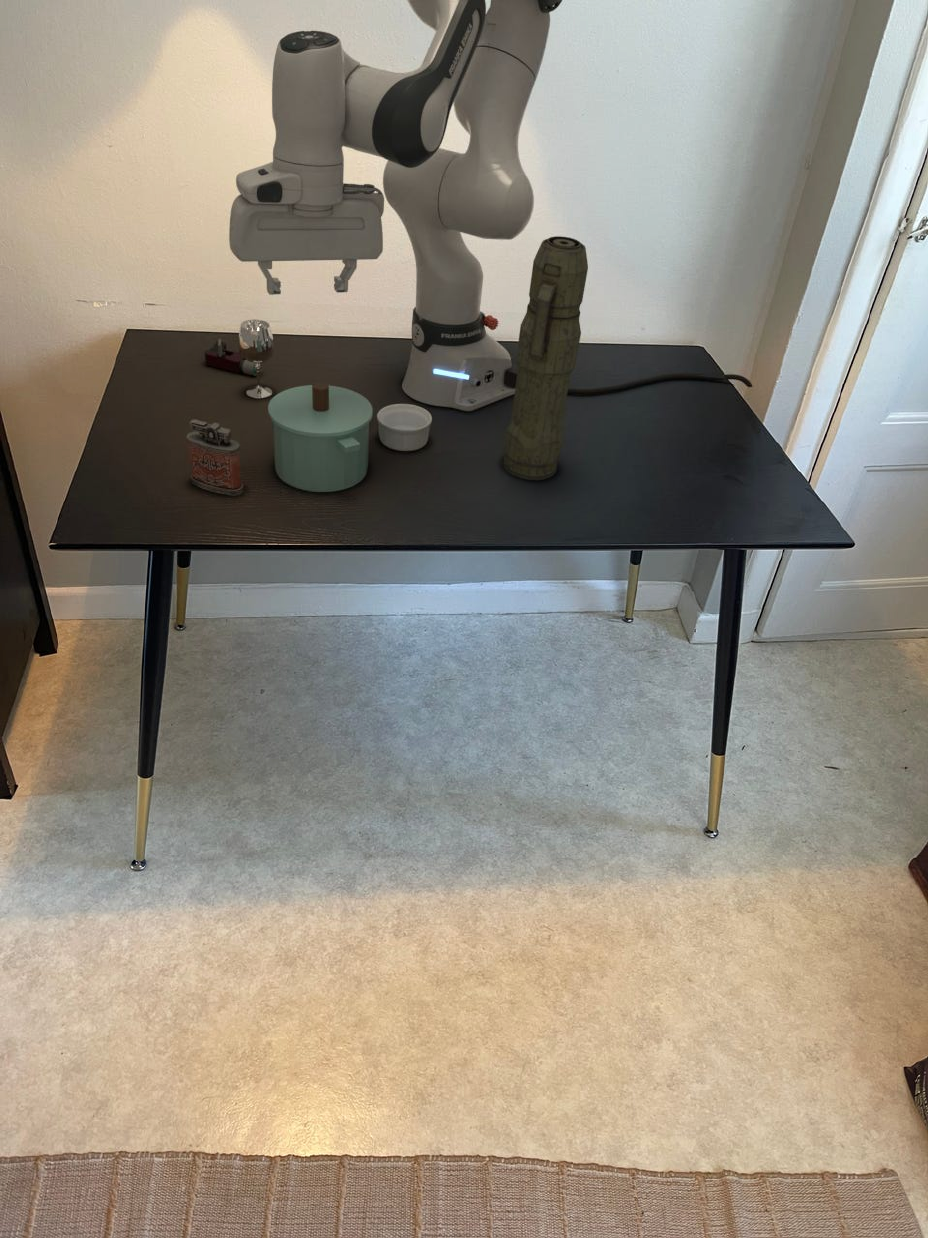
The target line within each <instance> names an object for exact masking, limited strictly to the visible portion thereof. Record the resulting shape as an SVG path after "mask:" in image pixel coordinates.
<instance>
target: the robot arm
mask: <svg viewBox="0 0 928 1238" xmlns="http://www.w3.org/2000/svg"><path fill="white" fill-rule="evenodd" d="M406 1H407V3H408V5H409V7H410V9H411V10H412V12H413V13H414V14H415V16H416V17H417V18H418V19H419V20H420V21H421V22H422V23H423V24H424V25H426V26H427V27H428V28H430V29H432V30H433V31H435V33H434V36H433V38H432V40H431V42H430V43H429V44H430V45H429V47H428V48H427V51H426V54H425V56H424V58H423V60H422V63H421V65H420V66H419V67H418V68H417V69H415V70H412V71H407V72H396V71H395V72H394V71H390V70H386V69H381V68H376V67H372V66H369V65H367V64H361V62H359V61H357V59H356V60H355V59H354V58H353V57H351V56H350V55H349V54H348V53H347V52H346V50H344V48H343V46H342V41H341V40H340V38H339V37H338V36H337V35H335V34H333V33H330V32H327V31H321V30H298V31H295V32H290V33H287V34H286V35H285V36H283V37H282V38H281V39H280V40H279V41H278V43H277V47H276V50H275V54H274V59H273V60H274V61H273V69H272V79H271V80H272V81H271V82H272V83H271V114H272V115H271V116H272V121H273V124H274V128H275V129H274V130H275V140H274V144H273V149H272V161H271V162H267V163H266V164H263V165H260V166H257V167H254V168H250V169H247V170H244V171H241V172H239V173H238V174H237V175H236V177H235V184H236V189H237V191H238V192H239V195H237V196H236V197H235V198H234V200H233V202H232V204H231V208H230V216H229V226H228V227H229V235H228V236H229V237H228V241H229V243H228V244H229V248H230V251H231V253H232V254H233V255H234V256H235V258H236V259H237V260H238V261H239V262H249V263H250V262H257V267H259V269H260V271H261V272H262V274H263V276H264V278H265V279H266V291H267V293H268V295H269V296H270V295H271V296H274V295H281V294H282V291H281V287H282V285H281V284H282V282H281V280H280V279H279V278H278V277H273V276H272V274H271V272H270V271H269V270H272V269H273V262H291V261H292V262H294V261H295V262H302V261H304V262H305V261H308V262H309V261H341V262H342V264H343V265H344V266H343V269H342V271H341V272H340V274H339V275H334V276H333V282H334V284H333V288H334V291H335V292H336V293H348V291H349V281H350V280H351V278H352V276H353V275H354V273H355V271H356V270H357V267H358V261H359V260H360V261H362V260H363V261H364V260H377V259H379V258H380V256H381V255H382V254H383V250H384V236H383V235H384V232H383V223H382V217H383V216H384V215H383V214H384V213H385V212H384V211H385V199H386V202H387V204H388V205H389V206H390V207H391V208H392V210H393V211H394V212H395V213H396V214H397V216H398V217H399V220H401V222H402V224H403V226H404V228H405V231H406V233H407V235H408V239H409V241H410V243H411V247H412V251H413V256H414V260H415V261H414V262H415V276H416V277H415V278H416V279H415V280H416V281H415V284H416V285H415V287H416V288H415V306H414V308H413V309H412V320H411V349H410V356H409V360H408V365H407V368H406V372H405V375H404V378H403V379H402V383H401V388H402V390H403V392H404V393H405V394H406V395H407V396H408V397H410V398H411V399H413V400H415V401H417V402H420V403H422V404H426V405H430V406H435V407H441V408H442V407H443V408H453V409H455V410H456V409H457V410H460V411H464V412H472V411H475V410H477V409H480V408H482V407H485V406H488V405H490V404H492V403H495V402H497V401H500V400H503V399H506V398H508V397H510V396H513V395H515V388H516V381H517V373H518V363H517V362H513V363H512V357H511V355H510V353H509V351H508V350H507V349H506V348H505V347H504V346H502V344H500V343H499V342H498V341H497V340H496V339H495V338H494V337H492V336H491V335H490V334H489V333H488V332H487V330H486V328H488V329H489V330H491V331H494V330H496V329H497V327H498V326H499V320H498V318H495V317H493V315H490V314H488V315H486V314H485V313H484V312H483V311H481V302H482V294H483V284H484V271H483V267H482V265H481V262H480V261H479V259H478V258H477V257H476V256H475V254H473V253H472V252H471V250H470V249H469V248H468V246H467V245H466V243H465V241H464V238H463V236H462V234H465V235H469V236H473V237H477V238H480V239H482V240H483V239H484V240H501V241H502V240H503V241H504V240H508V241H510V240H513V239H515V238H516V237H518V236H519V235H520V234H521V233H522V232H523V231H524V230H525V229H526V227H527V226H528V224H529V222H530V220H531V219H532V215H533V212H534V206H535V195H534V189H533V186H532V183H531V181H530V179H529V177H528V176H527V174H526V172H525V171H524V168H523V166H522V163H521V160H520V153H519V138H520V137H519V135H520V132H521V126H522V122H523V119H524V116H525V113H526V110H527V107H528V103H529V101H530V98H531V95H532V92H533V90H534V87H535V84H536V81H537V78H538V76H539V72H540V70H541V66H542V64H543V63H542V62H543V60H544V55H545V51H546V48H547V42H548V38H549V32H550V26H551V13H552V12H554V11H555V10H557V8H558V7H560V5H561V3H562V2H563V0H490V2H489V3H490V5H489V7H488V9H487V3H486V0H406ZM452 107H453V112H454V115H455V118H456V119H457V122H458V123H459V125H460V126H461V127H462V128H463V129H464V130H465V131H466V133H467V134H468V135H469V141H468V146H467V149H466V150H465V152H464V153H461V152H458V151H453V150H450V149H444V148H441V147H440V146H441V145H442V144H443V140H444V137H445V134H446V131H447V127H448V122H449V117H450V113H451V110H452ZM343 147H345V148H348V149H352V150H354V151H357V152H361V153H363V154H367V155H371V156H376V157H379V158H382V159H384V160H387V161H386V163H385V166H384V169H383V173H382V188H383V192H382V191H381V189H379V188H378V187H376V186H375V184H373V183H372V184H371V183H364V184H358V183H347V182H346V183H345V182H344V174H345V171H344V170H345V156H344V150H343ZM383 193H384V194H383ZM698 375H699V376H698ZM700 375H705V373H704V374H701V373H668V374H661V375H655V376H651V377H645V378H640V379H637V380H632V381H629V382H624V383H621V384H616V385H610V386H603V387H596V388H572V387H571V388H570V387H568V392H567V395H568V394H569V395H597V394H605V393H610V392H611V393H612V392H616V391H617V392H618V391H623V390H626V389H630V388H633V387H637V386H641V385H646V384H647V385H648V384H651V383H656V382H662V381H666V380H683V379H684V380H686V379H687V380H702V381H703V380H705V381H725V380H726V381H727V380H732V381H733V380H735V381H739V382H741V383H743V384H744V386H746V387H748V388H753V384H752V382H751V381H750V379H748V378H747V377H745V376H742V375H739V374H734V373H733V374H731V373H729V374H728V373H727V374H716V375H717V376H719V375H721V376H722V375H724V376H725V377H726V378H727V379H723V378H716V377H706V376H700Z"/></svg>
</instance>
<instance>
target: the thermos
mask: <svg viewBox="0 0 928 1238" xmlns="http://www.w3.org/2000/svg"><path fill="white" fill-rule="evenodd" d="M588 271H589V265H588V256H587V248H586V245H584V244H583V243H582V242H581V241H579V240H578V239H575V238H572V237H568V236H561V235H559V236H557V235H556V236H550V237H548V238H545V239H543V240H542V241H541V243H540V246H539V248H538V250H537V252H536V254H535V257H534V259H533V262H532V268H531V276H530V277H531V278H530V283H529V284H530V285H529V290H528V291H529V293H528V297H529V301H528V304H527V307H526V313H525V315H524V317H523V319H522V321H521V323H520V326H519V335H518V340H517V341H518V342H517V350H516V356H515V358H516V363H517V364H518V373H517V381H516V388H515V394H514V396H513V404H512V405H513V406H512V410H511V411H512V412H511V419H510V424H509V426H508V428H507V429H506V430H505V436H504V437H505V438H504V445H503V450H504V456H503V460H502V465H503V468H504V469H505V471H506V472H507V473H509V474H510V475H511V476H513V477H517V478H519V479H523V480H527V481H543V480H546V479H550V478H551V477H553V476H554V475H555V474H556V472H557V468H558V461H559V458H560V457H561V452H562V446H563V440H564V439H563V438H564V429H563V420H564V414H565V409H566V402H567V397H568V394H567V392H568V388H569V385H570V380H571V374H572V372H573V371H574V369H575V367H576V365H577V357H578V353H579V347H580V341H581V336H582V330H581V322H580V316H581V310H580V308H581V305H582V303H583V299H584V293H585V288H586V281H587V276H588Z"/></svg>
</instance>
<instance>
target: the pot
mask: <svg viewBox="0 0 928 1238" xmlns="http://www.w3.org/2000/svg"><path fill="white" fill-rule="evenodd" d="M369 433H370V422H369V423H368V424H367V425H366V426H365V427H363V428H362V429H359V430H357V431H355V432H352V433H349V434H345V435H340V436H332V437H315V436H306V435H301V434H296V433H293V432H290V431H287V430H285V429H283V428H281V427H279V426H278V425H276V424H275V423H274V422H273V421H272V437H273V438H272V439H273V441H272V442H273V456H274V457H273V458H274V467H275V473H276V475H277V477H278V478H279V479H280V480H281V481H282V482H284V483H285V484H287V485H289V486H291V487H293V488H295V489H299V490H302V491H307V492H316V493H330V492H338V491H343V490H346V489H349V488H351V487H355V485H357V484H359V483H360V482H361V481H362V480H363V479H364V478H365V477H366V476H367V473H368V468H369V440H370V439H369V438H370V437H369V436H370V435H369Z"/></svg>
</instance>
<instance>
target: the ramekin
mask: <svg viewBox="0 0 928 1238" xmlns="http://www.w3.org/2000/svg"><path fill="white" fill-rule="evenodd" d="M376 419H377V423H378V437H379V440H380V442H381V443H382V444H383V445H384V446H385V447H387V448H389V449H391V450H394V451H398V452H413V451H417V450H420V449H422V448H423V447H425V446H426V445H427V442H428V441H429V435H430V430H431V429H430V428H431V425H432V421H433V417H432V414H431V413H430V412H429V410H427V409H425V408H424V407H421V406H418V405H416V404H410V403H394V404H389V405H386V406H384V407H382V408H381V409H380V410H378V412H377V414H376Z"/></svg>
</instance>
